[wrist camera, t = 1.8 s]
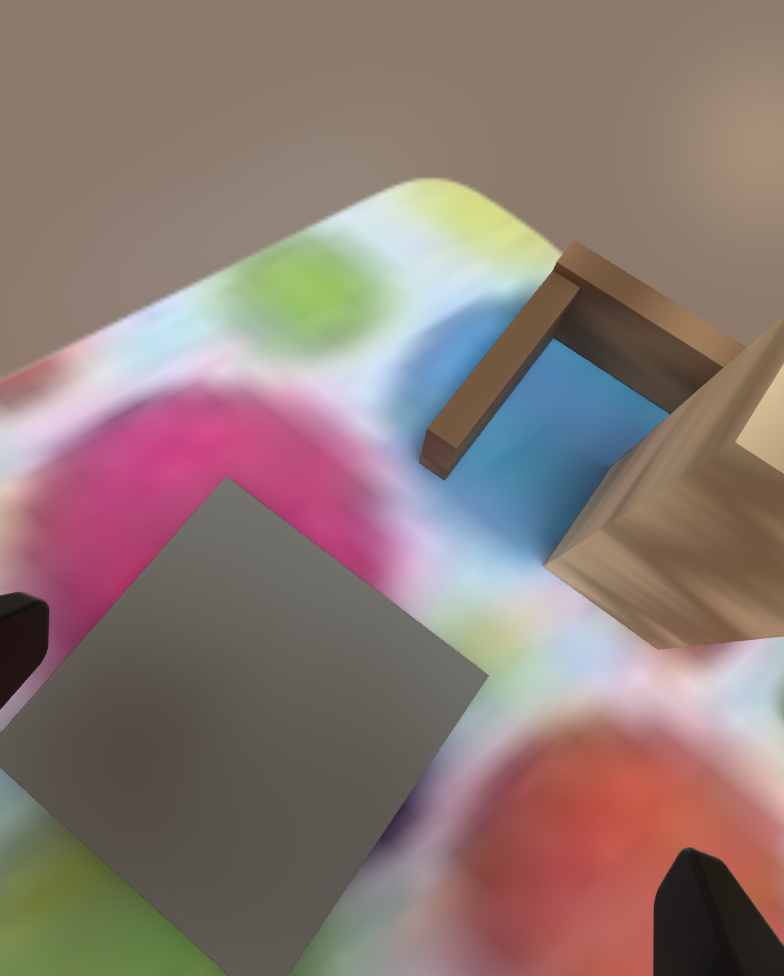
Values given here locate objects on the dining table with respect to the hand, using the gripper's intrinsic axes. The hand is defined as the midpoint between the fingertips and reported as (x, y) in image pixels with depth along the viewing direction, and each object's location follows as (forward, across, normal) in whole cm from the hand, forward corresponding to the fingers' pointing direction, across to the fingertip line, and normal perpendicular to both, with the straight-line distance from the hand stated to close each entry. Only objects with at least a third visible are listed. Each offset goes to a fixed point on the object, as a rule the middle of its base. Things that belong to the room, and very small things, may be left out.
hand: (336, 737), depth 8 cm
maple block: (+17, -7, +3) cm, 18 cm away
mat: (+10, +5, +10) cm, 15 cm away
